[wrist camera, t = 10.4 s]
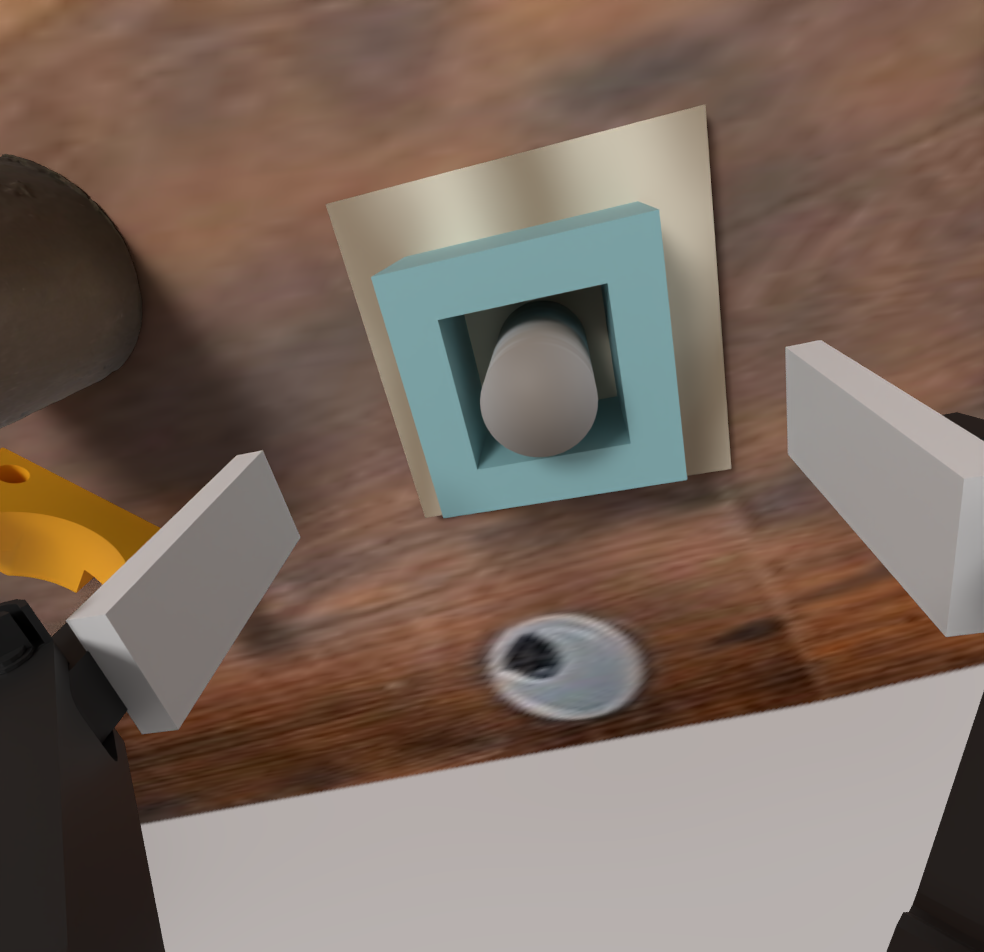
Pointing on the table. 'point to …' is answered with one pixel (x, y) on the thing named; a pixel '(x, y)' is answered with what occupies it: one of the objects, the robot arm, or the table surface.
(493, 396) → the post block
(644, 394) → the collar
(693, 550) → the table surface
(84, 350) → the pillar candle
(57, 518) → the pipe clamp
